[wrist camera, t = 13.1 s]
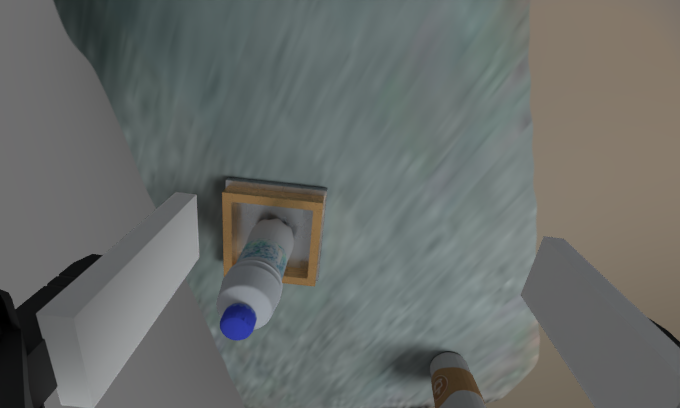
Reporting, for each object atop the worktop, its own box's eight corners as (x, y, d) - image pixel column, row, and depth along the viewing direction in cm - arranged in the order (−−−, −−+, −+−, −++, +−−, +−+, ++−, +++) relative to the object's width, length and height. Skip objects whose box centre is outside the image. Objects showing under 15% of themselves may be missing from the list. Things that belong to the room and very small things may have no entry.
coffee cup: (440, 339, 63) (466, 423, 49) (481, 357, 64) (517, 444, 50) (414, 371, 66) (430, 458, 52) (453, 388, 67) (479, 477, 53)
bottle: (267, 260, 56) (225, 366, 37) (242, 224, 53) (185, 318, 35) (305, 242, 54) (282, 344, 36) (282, 205, 52) (245, 293, 34)
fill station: (228, 177, 52) (219, 186, 48) (327, 188, 52) (325, 198, 49) (229, 267, 58) (222, 281, 54) (318, 276, 58) (316, 291, 55)
